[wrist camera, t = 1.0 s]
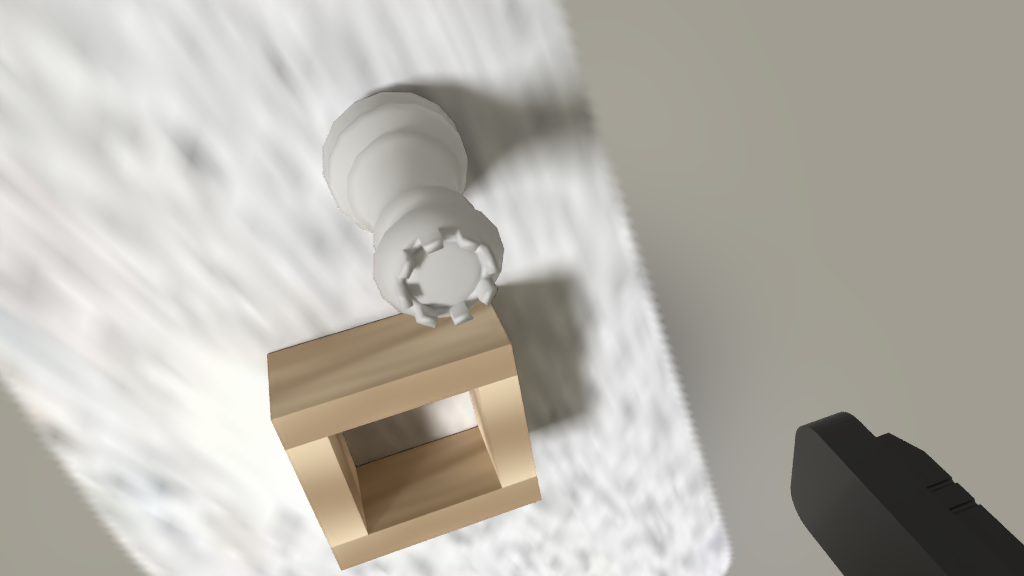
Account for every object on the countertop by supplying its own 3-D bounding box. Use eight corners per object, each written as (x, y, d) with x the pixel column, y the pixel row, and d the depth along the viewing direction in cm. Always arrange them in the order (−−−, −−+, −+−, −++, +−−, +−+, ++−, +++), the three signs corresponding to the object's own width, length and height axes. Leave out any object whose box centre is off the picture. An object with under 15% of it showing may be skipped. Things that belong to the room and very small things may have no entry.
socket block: (266, 354, 27) (270, 419, 24) (483, 289, 28) (511, 343, 25) (331, 501, 31) (341, 570, 28) (515, 439, 32) (541, 499, 30)
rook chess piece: (486, 137, 25) (575, 254, 18) (406, 240, 26) (463, 385, 19) (374, 56, 22) (431, 158, 16) (291, 174, 24) (312, 314, 17)
